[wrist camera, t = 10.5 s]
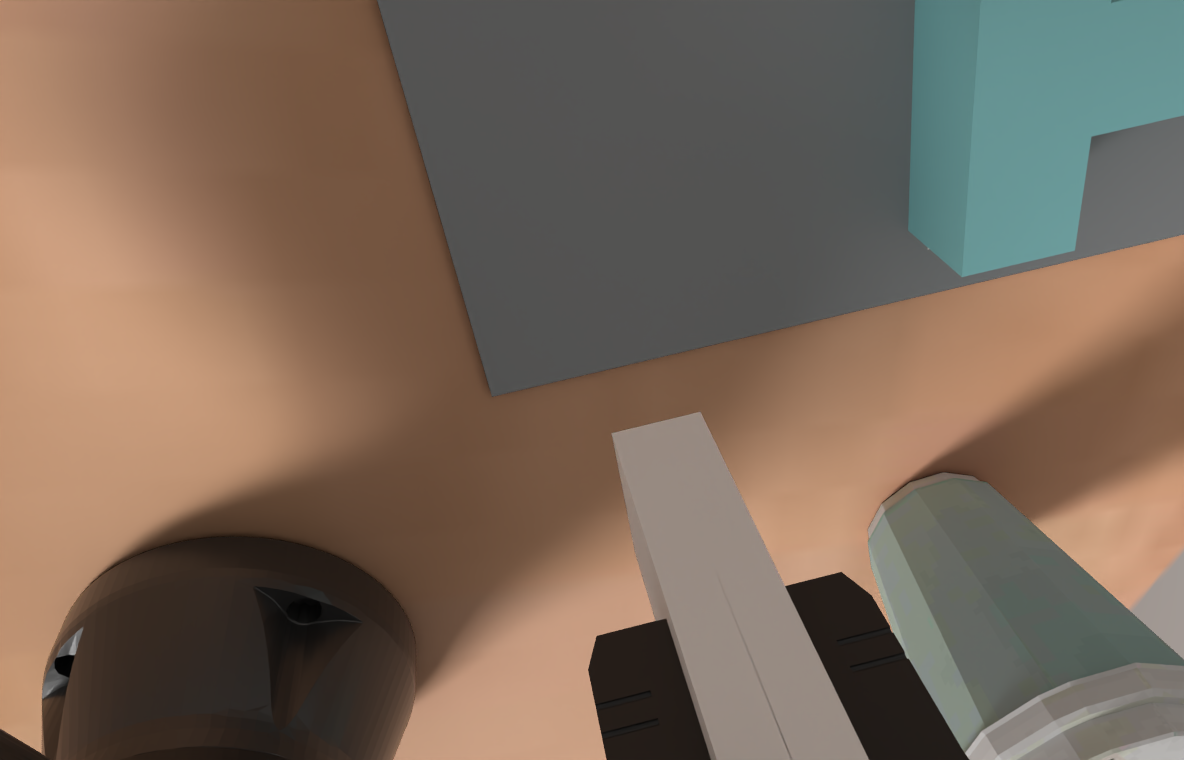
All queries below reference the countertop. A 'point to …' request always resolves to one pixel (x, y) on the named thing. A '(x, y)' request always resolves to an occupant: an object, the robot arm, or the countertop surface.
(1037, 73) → the t block
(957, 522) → the disposable coffee cup
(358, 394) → the countertop surface
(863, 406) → the countertop surface
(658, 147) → the board
